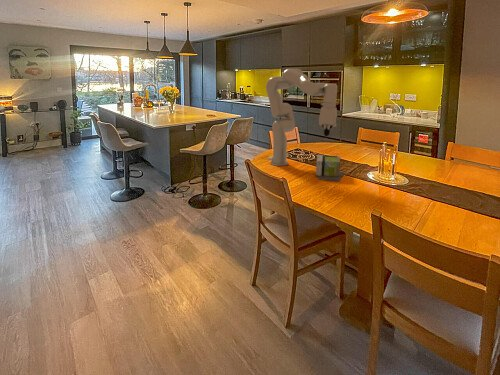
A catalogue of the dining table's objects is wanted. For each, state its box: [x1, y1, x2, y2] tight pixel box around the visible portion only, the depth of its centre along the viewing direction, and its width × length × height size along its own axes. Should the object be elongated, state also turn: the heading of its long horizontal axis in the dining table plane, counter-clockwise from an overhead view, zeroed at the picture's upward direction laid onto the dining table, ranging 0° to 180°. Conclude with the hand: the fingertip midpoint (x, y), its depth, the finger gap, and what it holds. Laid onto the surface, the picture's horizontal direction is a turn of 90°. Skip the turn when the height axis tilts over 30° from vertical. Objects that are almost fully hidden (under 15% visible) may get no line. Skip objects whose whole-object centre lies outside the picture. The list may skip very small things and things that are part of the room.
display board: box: [316, 171, 346, 183], centre depth 218 cm, size 13×18×1 cm
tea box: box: [315, 154, 341, 177], centre depth 220 cm, size 15×10×15 cm
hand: (326, 135), depth 212 cm, fingers closed
